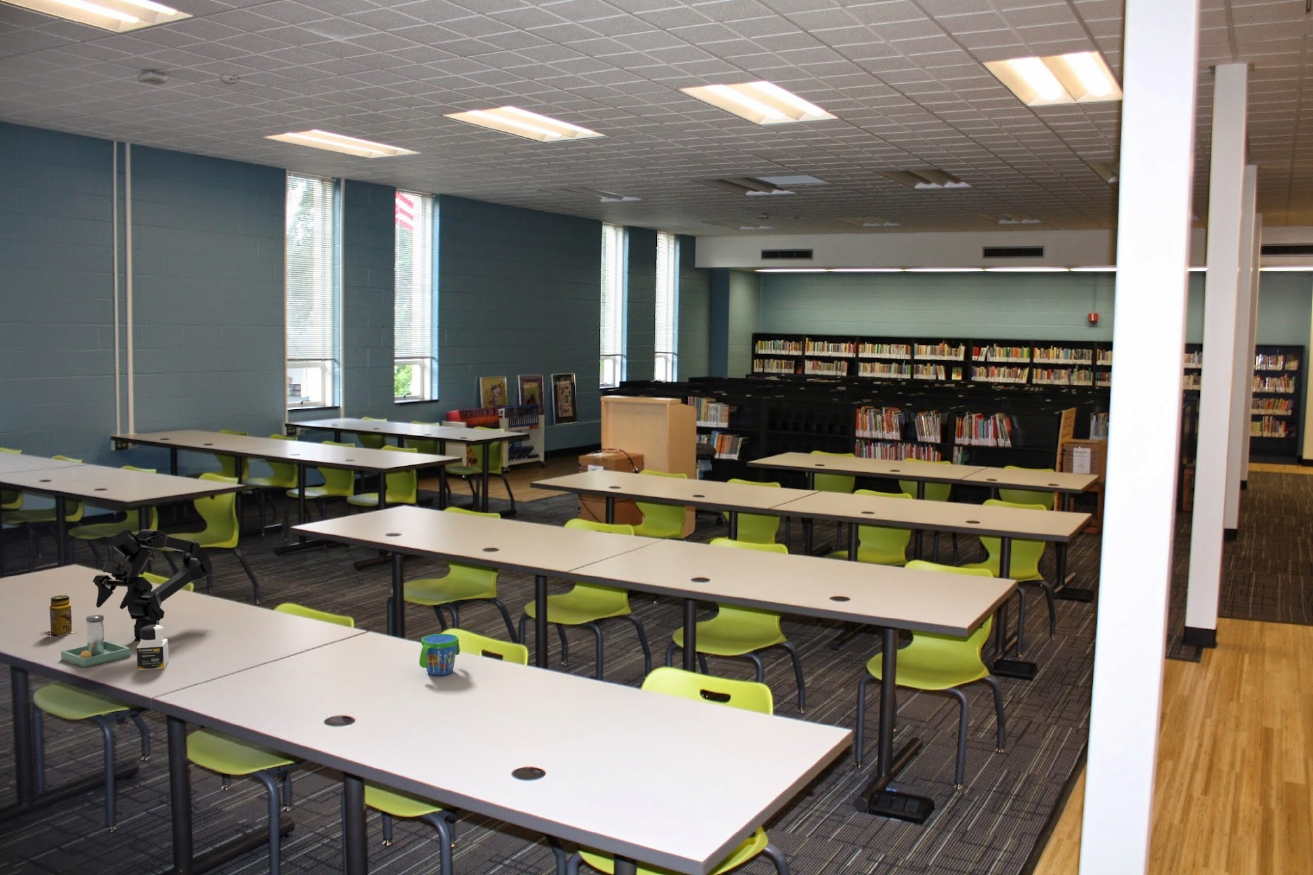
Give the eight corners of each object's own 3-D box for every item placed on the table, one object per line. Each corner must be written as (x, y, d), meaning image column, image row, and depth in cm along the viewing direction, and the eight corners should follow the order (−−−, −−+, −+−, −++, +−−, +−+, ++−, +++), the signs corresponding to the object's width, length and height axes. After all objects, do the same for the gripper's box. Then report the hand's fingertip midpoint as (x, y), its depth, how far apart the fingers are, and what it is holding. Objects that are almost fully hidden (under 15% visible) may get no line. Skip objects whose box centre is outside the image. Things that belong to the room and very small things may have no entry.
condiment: (76, 633, 332) (74, 597, 331) (46, 638, 326) (44, 601, 325) (69, 628, 337) (68, 593, 336) (40, 633, 332) (39, 597, 330)
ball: (93, 658, 304) (92, 648, 304) (89, 661, 301) (89, 651, 301) (82, 659, 303) (81, 649, 303) (78, 662, 300) (78, 652, 300)
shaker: (101, 652, 310) (100, 613, 309) (107, 655, 307) (105, 616, 306) (85, 655, 306) (83, 616, 305) (90, 659, 303) (89, 619, 302)
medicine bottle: (137, 670, 295) (135, 630, 294) (142, 663, 302) (141, 623, 301) (164, 669, 297) (162, 628, 296) (168, 661, 304) (167, 622, 303)
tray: (107, 648, 316) (106, 640, 316) (130, 656, 308) (130, 648, 308) (61, 659, 305) (60, 651, 304) (84, 667, 297) (84, 659, 297)
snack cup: (446, 662, 306) (446, 629, 305) (472, 668, 300) (472, 635, 299) (407, 676, 293) (406, 641, 292) (433, 683, 287) (433, 647, 286)
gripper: (94, 549, 318) (67, 593, 309) (142, 551, 312) (116, 595, 303) (117, 568, 326) (91, 611, 317) (163, 570, 321) (139, 614, 311)
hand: (109, 607), depth 312 cm, fingers open, 9 cm apart
